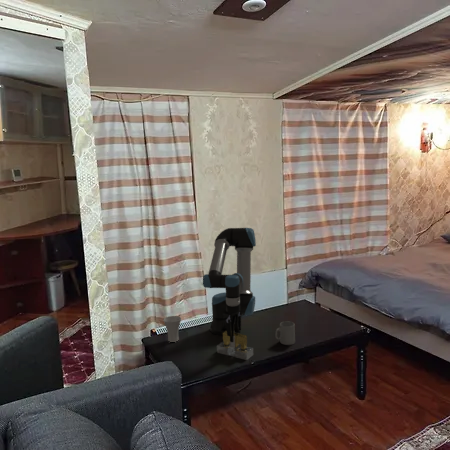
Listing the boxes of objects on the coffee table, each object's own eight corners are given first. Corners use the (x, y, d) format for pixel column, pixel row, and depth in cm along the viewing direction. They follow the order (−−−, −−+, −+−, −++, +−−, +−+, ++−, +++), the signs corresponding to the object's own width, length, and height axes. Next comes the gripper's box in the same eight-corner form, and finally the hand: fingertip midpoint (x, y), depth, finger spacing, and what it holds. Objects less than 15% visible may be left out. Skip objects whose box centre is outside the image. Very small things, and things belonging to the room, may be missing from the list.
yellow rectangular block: (223, 345, 228) (222, 332, 227) (226, 343, 230) (225, 330, 229) (244, 349, 220) (243, 337, 219) (247, 347, 223) (246, 335, 222)
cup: (184, 337, 250) (183, 316, 248) (178, 345, 240) (177, 322, 238) (168, 336, 253) (167, 315, 251) (161, 343, 243) (160, 321, 241)
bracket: (217, 352, 228) (216, 345, 228) (224, 347, 234) (223, 341, 233) (246, 360, 218) (246, 353, 217) (253, 355, 224) (253, 348, 223)
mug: (290, 338, 244) (289, 320, 242) (297, 343, 236) (297, 325, 234) (272, 341, 239) (271, 323, 238) (279, 347, 231) (279, 328, 230)
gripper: (230, 309, 213) (232, 352, 217) (246, 300, 227) (248, 341, 230) (218, 307, 218) (220, 349, 221) (235, 298, 231) (236, 339, 234)
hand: (234, 345), depth 225 cm, fingers closed on yellow rectangular block, 3 cm apart
